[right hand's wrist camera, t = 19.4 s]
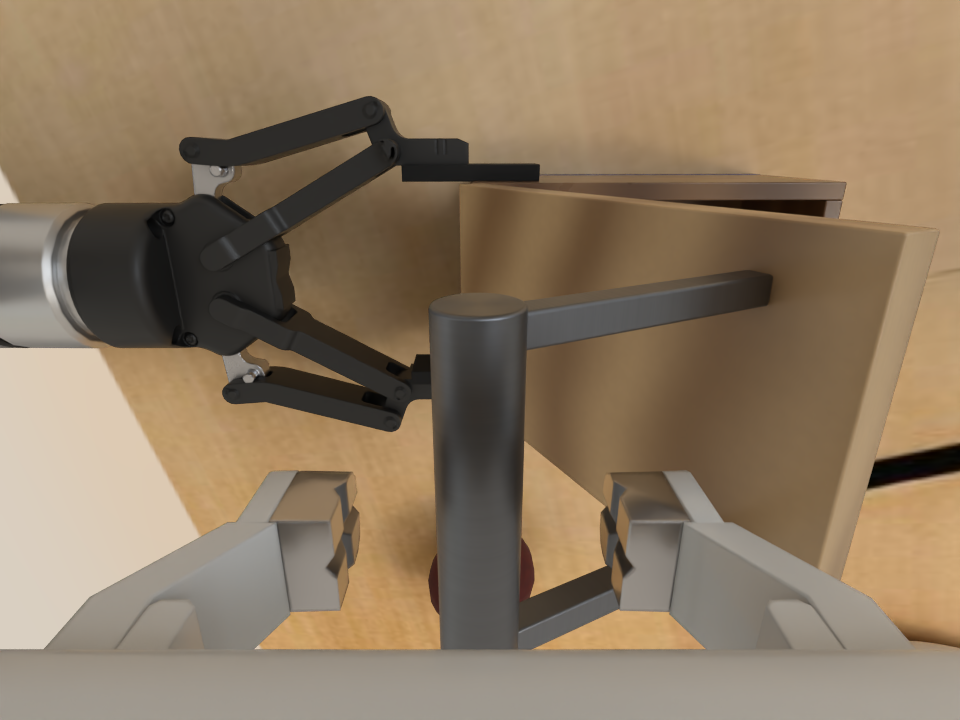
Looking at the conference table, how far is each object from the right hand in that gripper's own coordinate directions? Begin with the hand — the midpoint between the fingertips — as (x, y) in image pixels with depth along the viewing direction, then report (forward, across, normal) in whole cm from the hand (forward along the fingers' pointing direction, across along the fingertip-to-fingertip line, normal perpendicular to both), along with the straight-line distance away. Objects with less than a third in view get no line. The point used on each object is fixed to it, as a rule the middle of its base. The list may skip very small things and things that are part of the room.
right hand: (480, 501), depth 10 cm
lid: (+9, -4, 0) cm, 10 cm away
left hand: (+20, -3, 0) cm, 20 cm away
